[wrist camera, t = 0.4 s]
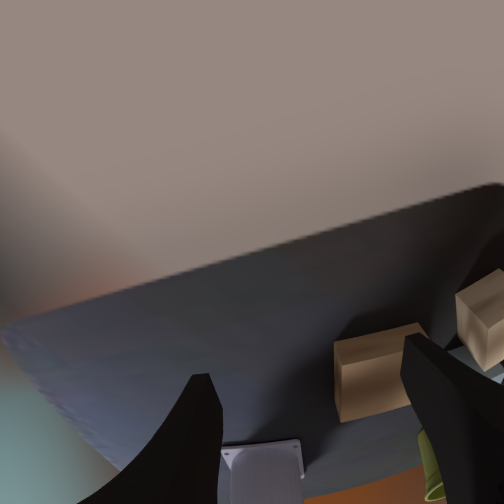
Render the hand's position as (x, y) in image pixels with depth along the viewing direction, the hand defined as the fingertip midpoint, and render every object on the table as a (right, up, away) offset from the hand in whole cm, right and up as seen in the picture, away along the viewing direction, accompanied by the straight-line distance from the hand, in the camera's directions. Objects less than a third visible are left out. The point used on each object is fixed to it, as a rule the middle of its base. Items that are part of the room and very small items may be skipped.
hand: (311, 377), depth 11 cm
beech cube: (+17, 0, +11) cm, 21 cm away
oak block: (+8, -5, +13) cm, 16 cm away
